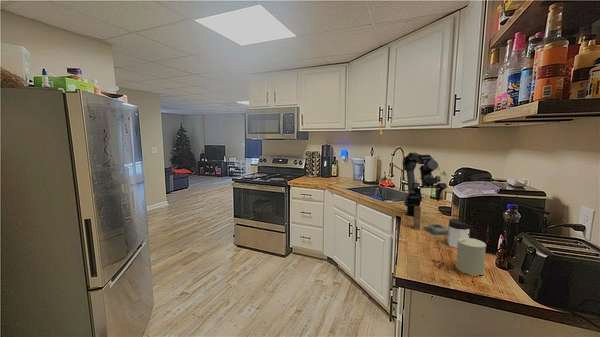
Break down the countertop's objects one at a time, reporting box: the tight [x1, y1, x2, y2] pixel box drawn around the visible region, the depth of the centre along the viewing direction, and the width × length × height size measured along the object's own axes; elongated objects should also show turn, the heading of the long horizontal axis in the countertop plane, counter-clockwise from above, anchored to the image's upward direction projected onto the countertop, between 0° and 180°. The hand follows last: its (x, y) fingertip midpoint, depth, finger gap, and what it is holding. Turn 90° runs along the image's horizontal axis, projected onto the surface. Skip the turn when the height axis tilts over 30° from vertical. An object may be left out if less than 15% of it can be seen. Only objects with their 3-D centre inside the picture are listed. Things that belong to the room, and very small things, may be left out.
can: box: [455, 237, 487, 276], centre depth 96 cm, size 9×9×12 cm
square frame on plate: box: [423, 223, 448, 236], centre depth 137 cm, size 10×10×3 cm
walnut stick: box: [413, 205, 422, 231], centre depth 141 cm, size 3×3×13 cm
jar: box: [447, 218, 470, 249], centre depth 119 cm, size 9×8×12 cm
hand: (429, 201), depth 140 cm, fingers open, 9 cm apart
